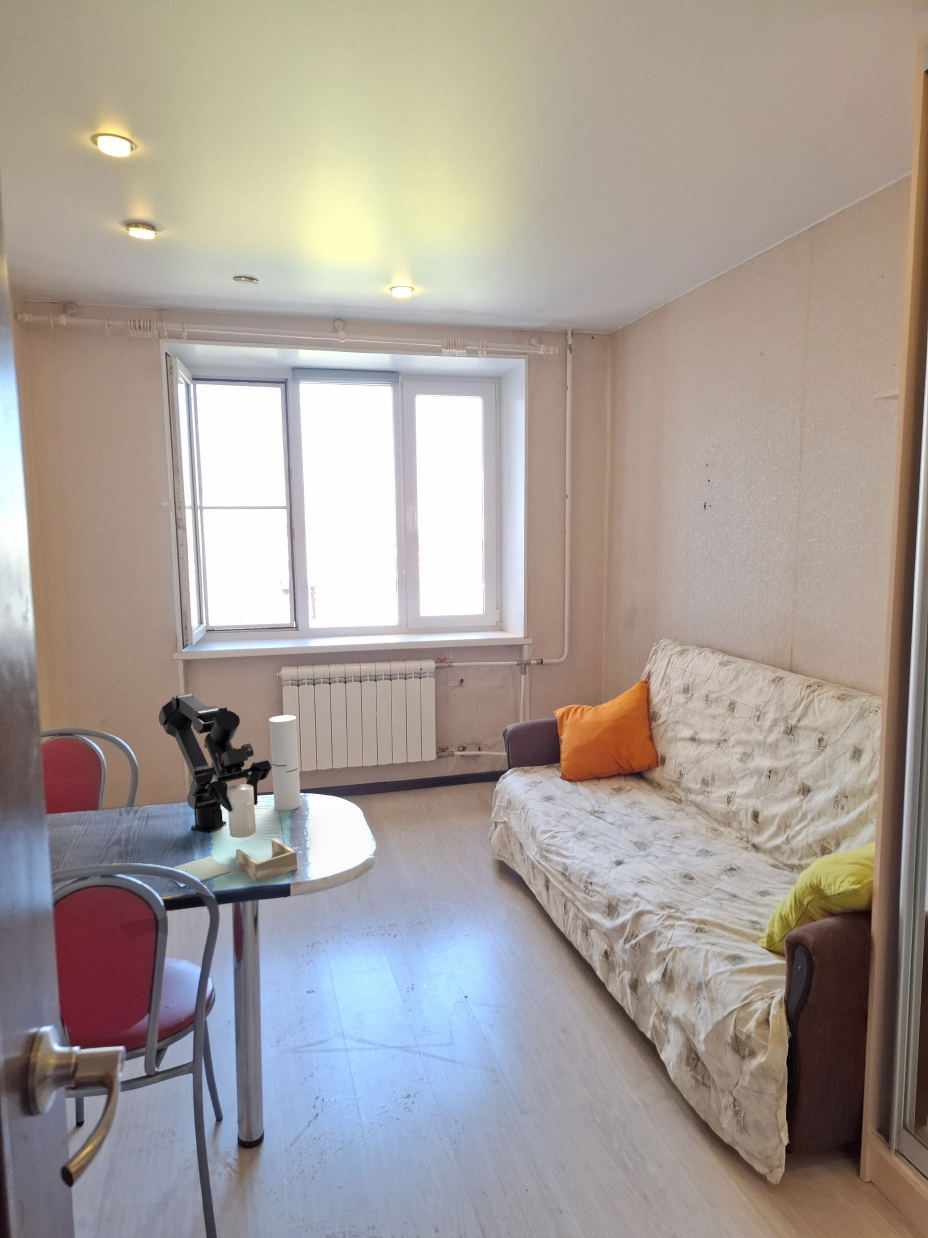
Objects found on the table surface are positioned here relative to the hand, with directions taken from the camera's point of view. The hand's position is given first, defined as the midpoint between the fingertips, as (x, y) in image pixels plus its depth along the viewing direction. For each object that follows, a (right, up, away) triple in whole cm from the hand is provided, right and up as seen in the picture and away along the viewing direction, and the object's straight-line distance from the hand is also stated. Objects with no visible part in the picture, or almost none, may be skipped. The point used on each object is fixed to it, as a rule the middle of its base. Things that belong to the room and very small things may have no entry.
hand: (243, 807), depth 180 cm
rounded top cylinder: (-1, -6, +2) cm, 7 cm away
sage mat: (-9, -13, -8) cm, 17 cm away
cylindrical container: (+3, -8, +33) cm, 34 cm away
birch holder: (+7, -12, -6) cm, 15 cm away
